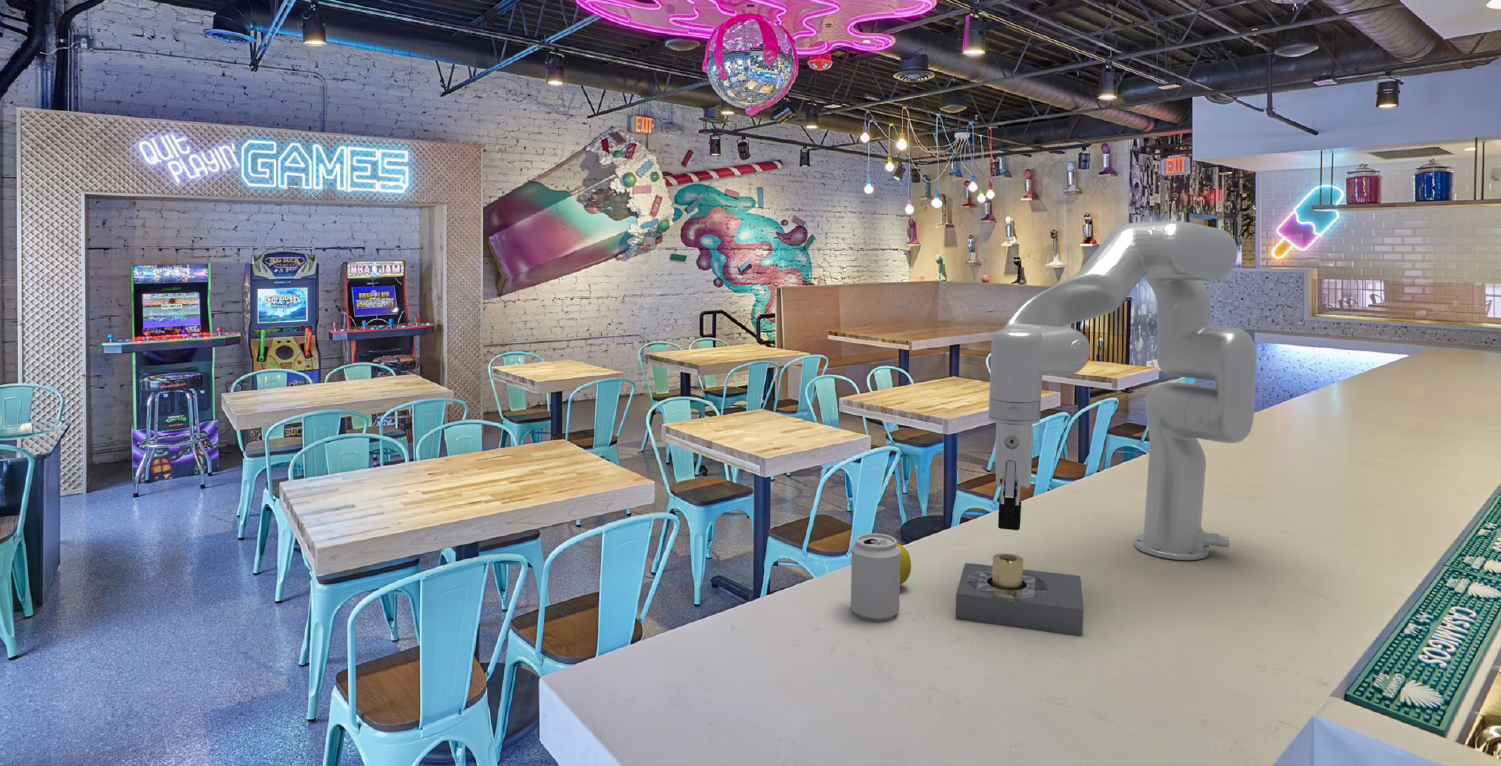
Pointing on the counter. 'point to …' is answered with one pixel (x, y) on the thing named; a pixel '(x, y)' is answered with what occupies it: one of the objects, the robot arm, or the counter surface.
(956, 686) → the counter surface
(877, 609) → the can
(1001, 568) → the cylinder
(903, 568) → the lemon
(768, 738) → the counter surface
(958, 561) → the counter surface
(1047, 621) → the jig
